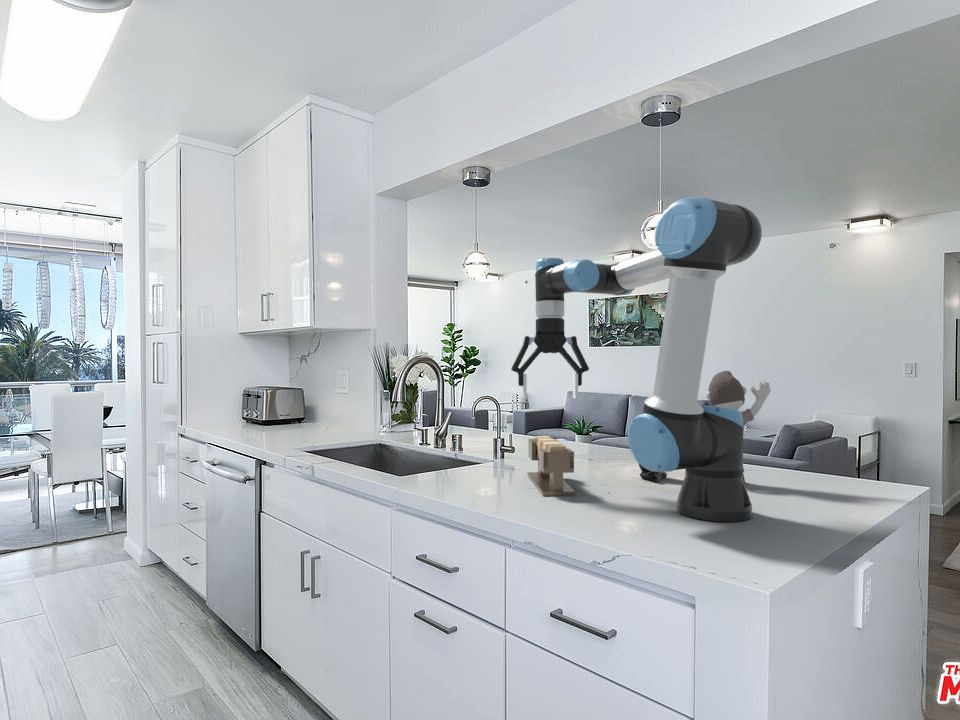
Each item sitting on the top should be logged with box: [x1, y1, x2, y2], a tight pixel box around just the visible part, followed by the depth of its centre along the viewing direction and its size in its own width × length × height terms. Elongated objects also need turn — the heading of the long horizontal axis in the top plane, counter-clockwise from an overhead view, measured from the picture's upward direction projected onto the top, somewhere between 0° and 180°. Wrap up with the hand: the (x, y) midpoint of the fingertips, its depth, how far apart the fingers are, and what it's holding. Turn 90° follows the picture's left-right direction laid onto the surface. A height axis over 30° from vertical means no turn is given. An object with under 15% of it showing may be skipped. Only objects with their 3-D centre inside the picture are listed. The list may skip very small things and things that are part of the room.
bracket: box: [526, 438, 576, 497], centre depth 160 cm, size 25×8×10 cm, turn 4°
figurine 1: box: [638, 463, 668, 482], centre depth 167 cm, size 10×10×15 cm
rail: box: [533, 435, 567, 458], centre depth 160 cm, size 20×4×5 cm, turn 6°
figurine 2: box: [705, 370, 772, 485], centre depth 163 cm, size 18×9×30 cm, turn 84°
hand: (550, 398), depth 160 cm, fingers open, 13 cm apart
